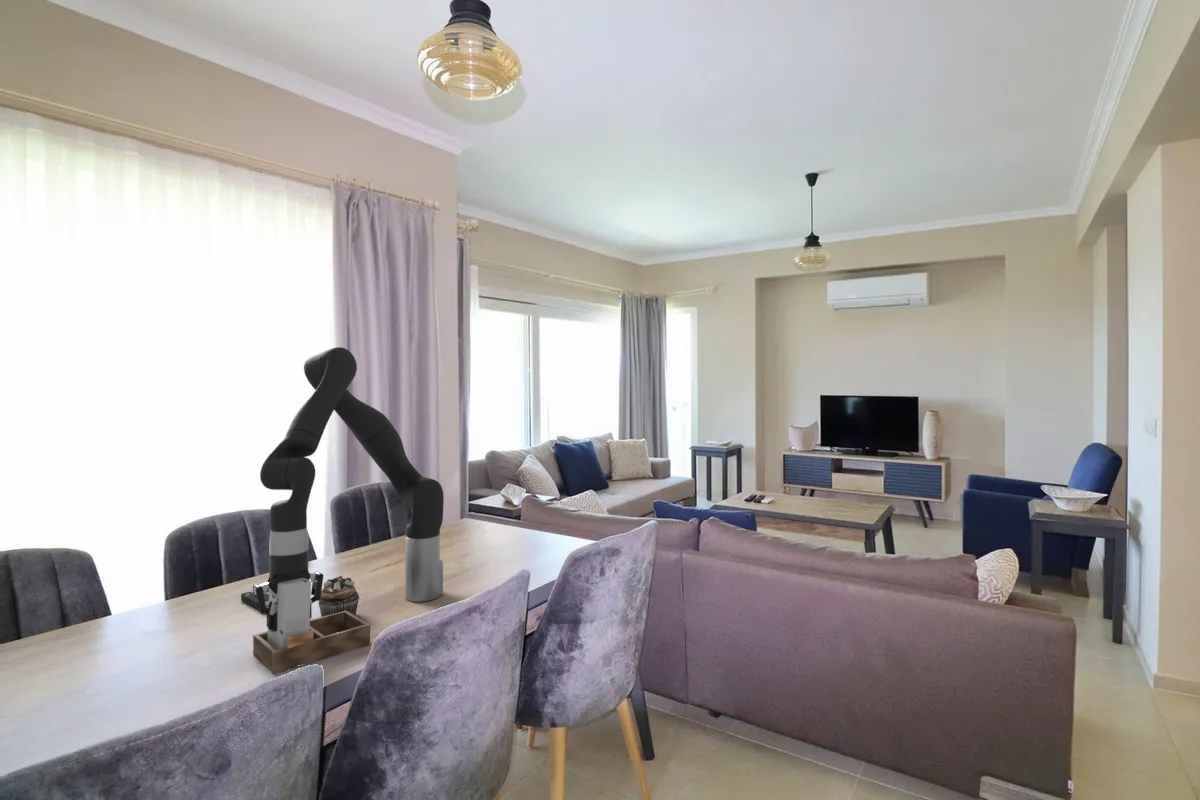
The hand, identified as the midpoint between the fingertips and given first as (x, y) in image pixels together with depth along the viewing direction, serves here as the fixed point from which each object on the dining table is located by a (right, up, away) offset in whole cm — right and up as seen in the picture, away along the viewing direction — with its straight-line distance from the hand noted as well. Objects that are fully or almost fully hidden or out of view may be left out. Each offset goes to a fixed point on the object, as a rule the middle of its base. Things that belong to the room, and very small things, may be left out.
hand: (289, 626), depth 133 cm
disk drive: (-22, -7, +33) cm, 40 cm away
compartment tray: (+3, -7, +4) cm, 8 cm away
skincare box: (0, -5, 0) cm, 5 cm away
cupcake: (+1, -6, +22) cm, 23 cm away
